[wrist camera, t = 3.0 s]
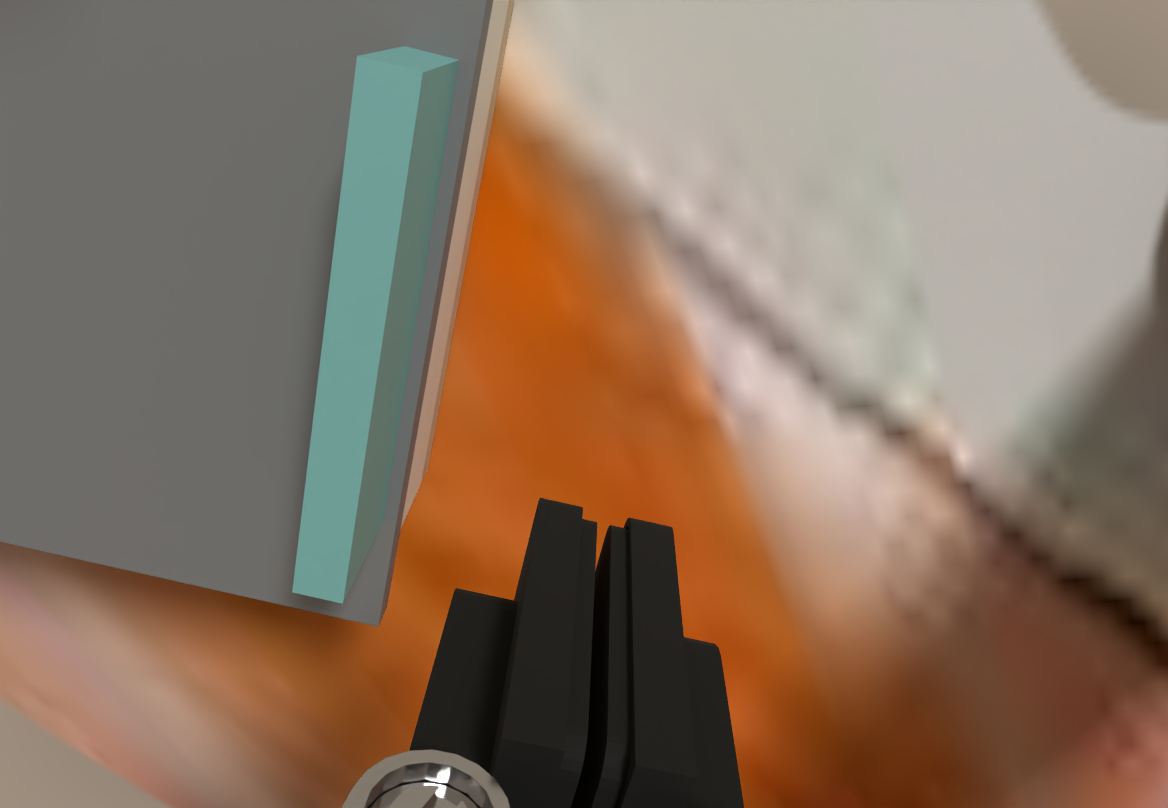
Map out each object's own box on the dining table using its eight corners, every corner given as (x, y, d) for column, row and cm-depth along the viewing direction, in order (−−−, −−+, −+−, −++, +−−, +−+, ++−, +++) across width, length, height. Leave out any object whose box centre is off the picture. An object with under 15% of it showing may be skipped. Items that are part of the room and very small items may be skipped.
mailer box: (526, -69, 22) (489, -91, 16) (428, 467, 28) (376, 581, 22) (-321, -289, 21) (-661, -389, 15) (-231, 314, 27) (-452, 394, 22)
